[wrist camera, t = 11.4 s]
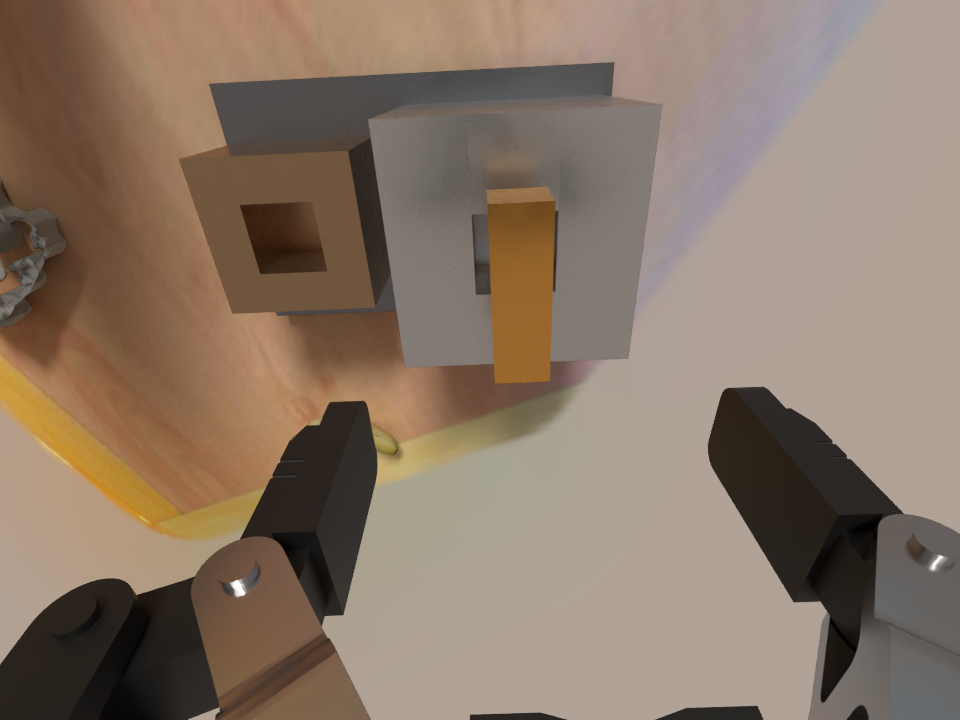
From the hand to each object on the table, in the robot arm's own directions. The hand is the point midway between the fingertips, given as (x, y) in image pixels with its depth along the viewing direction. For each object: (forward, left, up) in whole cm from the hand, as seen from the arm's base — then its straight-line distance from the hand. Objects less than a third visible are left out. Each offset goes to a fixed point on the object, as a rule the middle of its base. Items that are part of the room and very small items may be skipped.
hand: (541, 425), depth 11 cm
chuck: (-5, 0, -23) cm, 23 cm away
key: (0, 0, -15) cm, 15 cm away
